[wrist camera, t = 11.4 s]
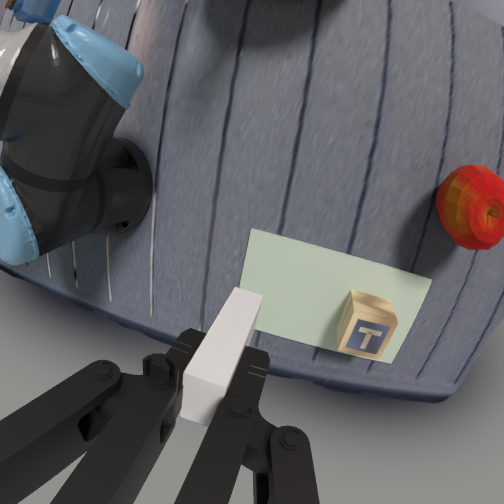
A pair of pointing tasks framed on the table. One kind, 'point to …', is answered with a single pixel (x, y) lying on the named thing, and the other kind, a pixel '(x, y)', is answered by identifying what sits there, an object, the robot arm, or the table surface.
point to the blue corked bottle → (33, 10)
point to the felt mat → (322, 290)
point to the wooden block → (366, 325)
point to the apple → (472, 207)
